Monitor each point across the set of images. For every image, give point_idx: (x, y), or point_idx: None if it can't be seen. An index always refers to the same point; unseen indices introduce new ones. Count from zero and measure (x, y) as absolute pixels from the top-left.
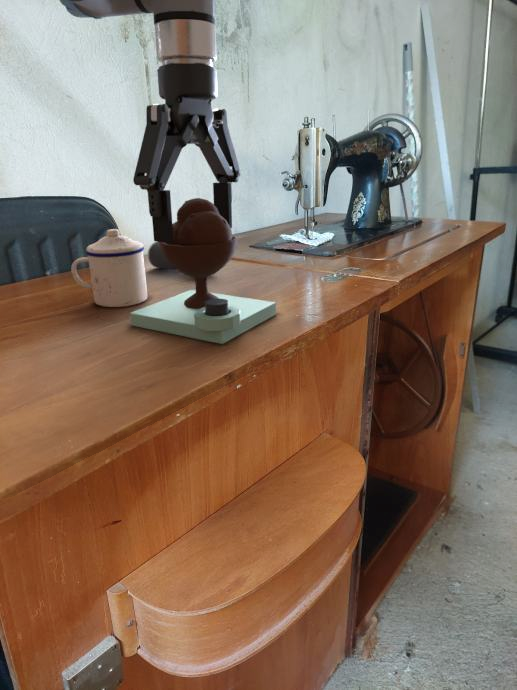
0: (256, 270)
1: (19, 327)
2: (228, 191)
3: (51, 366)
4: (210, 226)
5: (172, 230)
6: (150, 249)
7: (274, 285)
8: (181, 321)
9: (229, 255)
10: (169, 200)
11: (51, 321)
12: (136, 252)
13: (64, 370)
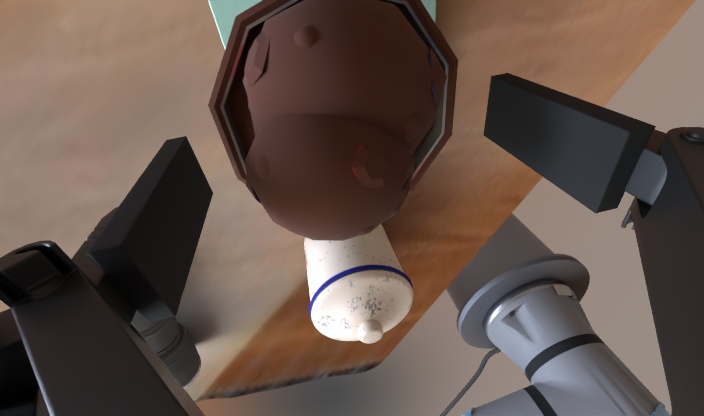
0: None
1: (486, 225)
2: (135, 216)
3: (586, 70)
4: (400, 24)
5: (515, 83)
6: (192, 377)
7: (14, 112)
8: (430, 9)
9: None
10: (599, 114)
11: (456, 221)
12: (354, 268)
13: (596, 40)
